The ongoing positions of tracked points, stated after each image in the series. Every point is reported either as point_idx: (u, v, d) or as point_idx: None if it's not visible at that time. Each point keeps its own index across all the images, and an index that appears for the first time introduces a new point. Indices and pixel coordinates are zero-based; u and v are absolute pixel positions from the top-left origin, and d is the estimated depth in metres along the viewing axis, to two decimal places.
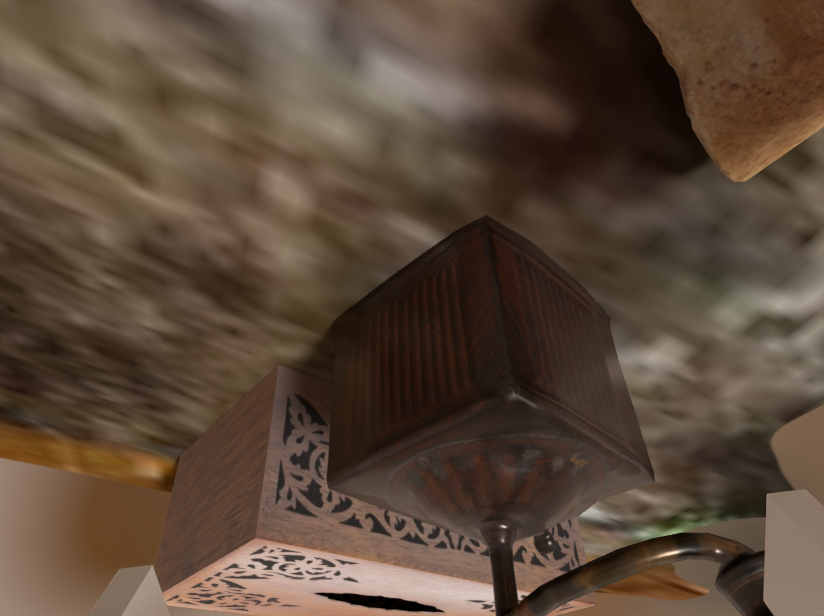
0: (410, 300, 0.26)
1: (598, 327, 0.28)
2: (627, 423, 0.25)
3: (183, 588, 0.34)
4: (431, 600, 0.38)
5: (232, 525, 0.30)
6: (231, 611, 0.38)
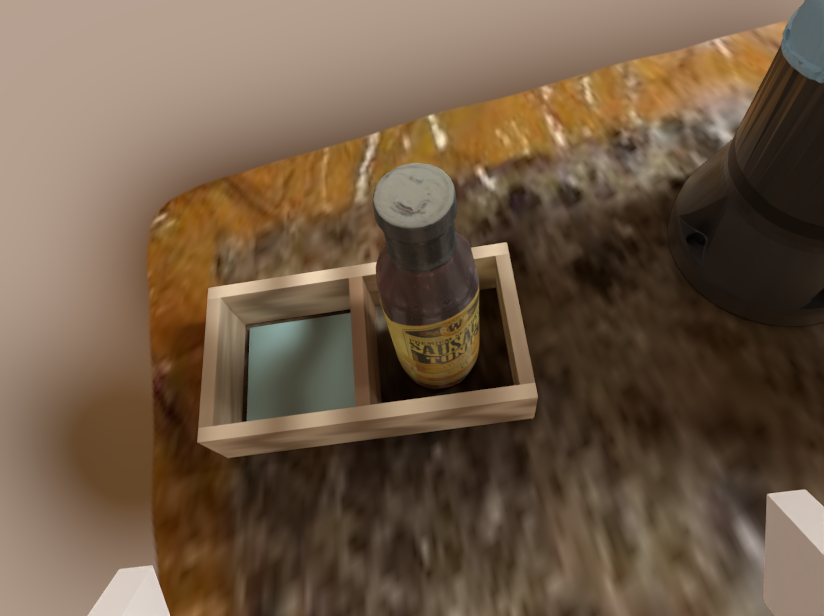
0: None
1: None
2: None
3: None
4: None
5: None
6: None
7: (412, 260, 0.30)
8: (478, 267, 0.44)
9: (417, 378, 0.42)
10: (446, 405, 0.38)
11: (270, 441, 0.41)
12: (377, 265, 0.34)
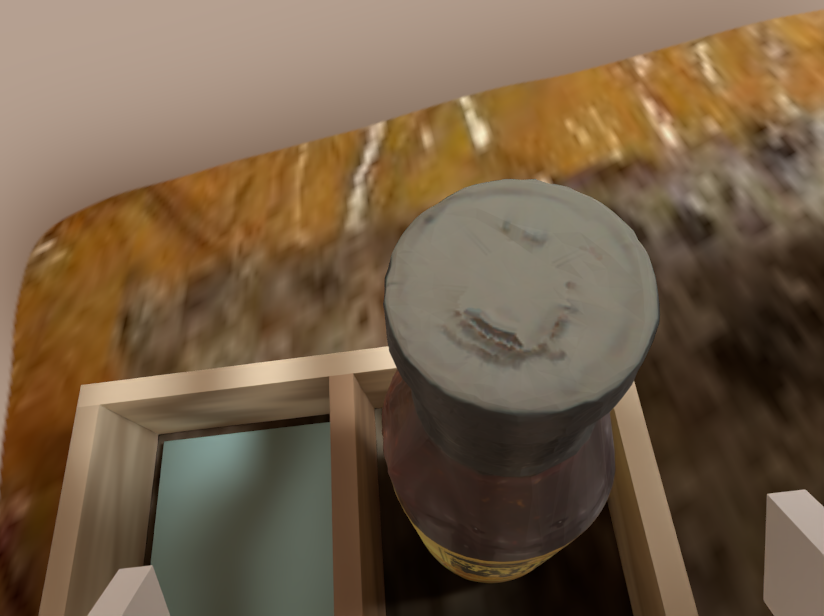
0: None
1: None
2: None
3: None
4: None
5: None
6: None
7: (492, 458, 0.10)
8: None
9: (452, 571, 0.23)
10: None
11: None
12: (386, 411, 0.15)
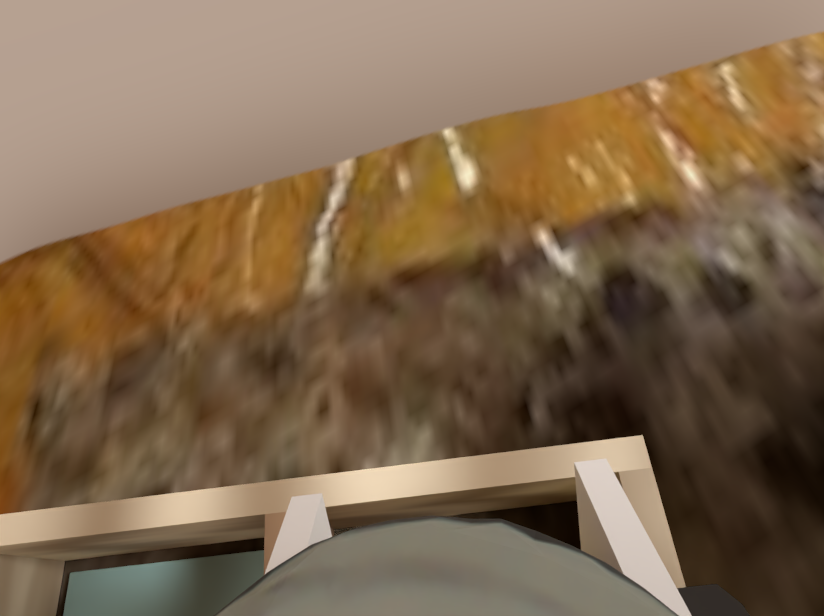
0: None
1: None
2: None
3: None
4: None
5: None
6: None
7: None
8: (569, 485, 0.19)
9: None
10: None
11: None
12: None
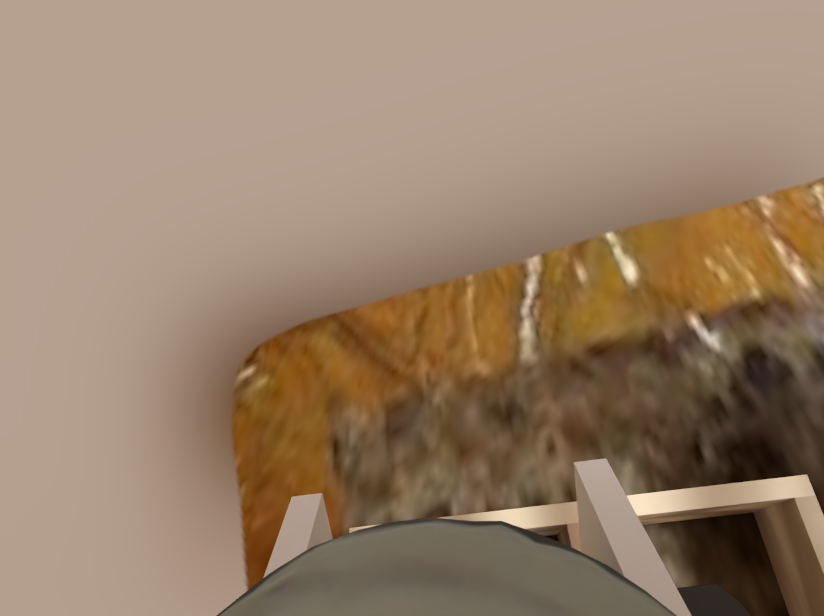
0: None
1: None
2: None
3: None
4: None
5: None
6: None
7: None
8: (755, 505, 0.30)
9: None
10: None
11: None
12: None
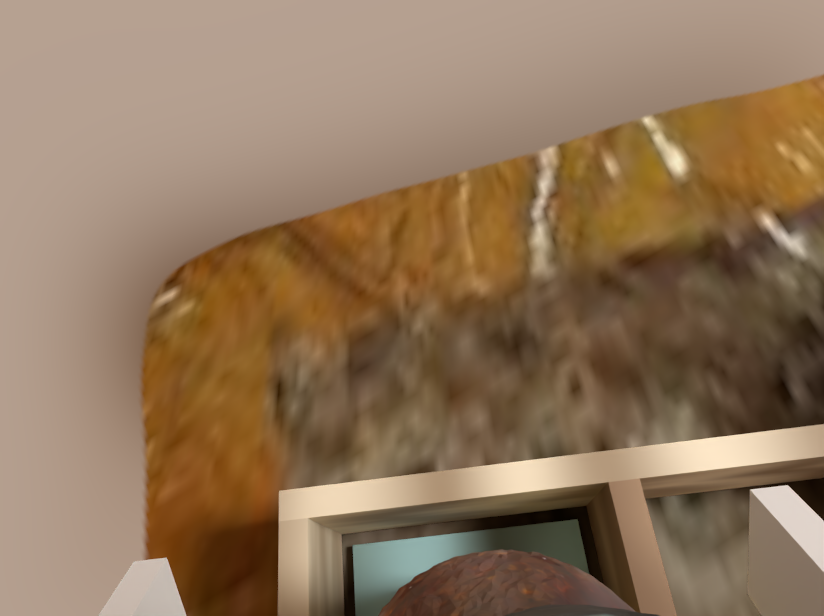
0: None
1: None
2: None
3: None
4: None
5: None
6: None
7: None
8: None
9: None
10: None
11: None
12: None
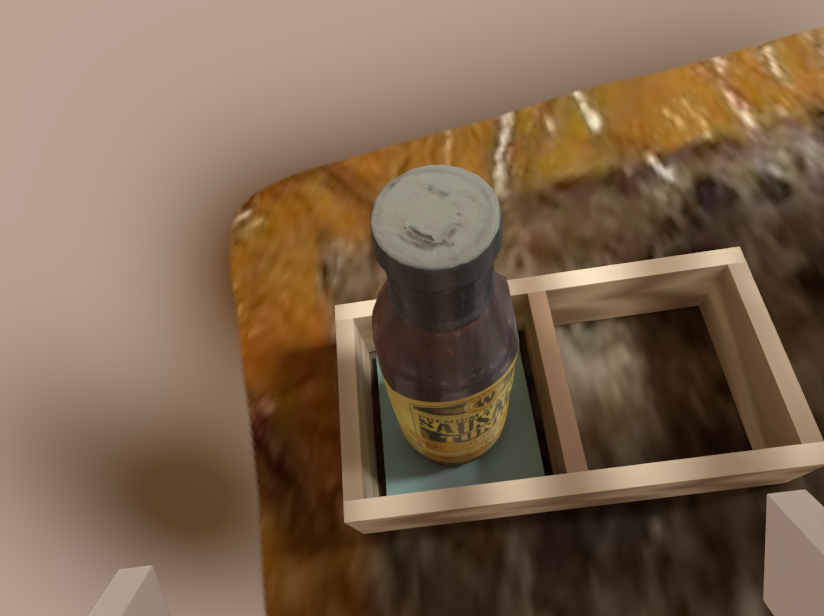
0: None
1: None
2: None
3: None
4: None
5: None
6: None
7: (429, 314, 0.19)
8: (695, 280, 0.33)
9: (425, 454, 0.31)
10: (700, 473, 0.27)
11: (436, 517, 0.30)
12: (374, 313, 0.24)
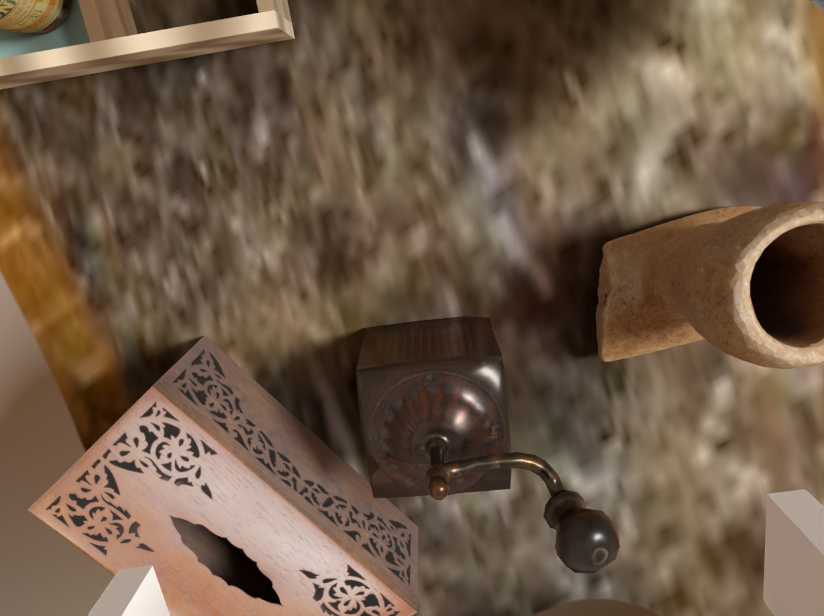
0: (432, 329, 0.45)
1: None
2: None
3: (70, 480, 0.41)
4: (269, 561, 0.43)
5: None
6: (91, 552, 0.43)
7: None
8: None
9: None
10: (185, 39, 0.37)
11: (18, 78, 0.40)
12: None
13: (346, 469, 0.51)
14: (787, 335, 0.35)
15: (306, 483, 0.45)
